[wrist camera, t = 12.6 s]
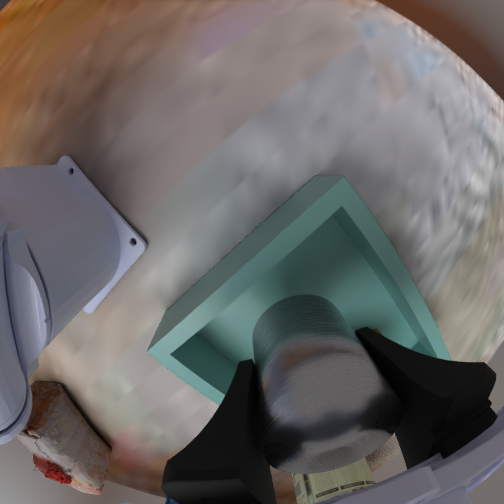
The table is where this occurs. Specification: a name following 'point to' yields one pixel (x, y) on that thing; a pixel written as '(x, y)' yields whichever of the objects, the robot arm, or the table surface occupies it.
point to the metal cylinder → (318, 389)
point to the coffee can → (332, 482)
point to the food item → (64, 440)
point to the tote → (295, 286)
